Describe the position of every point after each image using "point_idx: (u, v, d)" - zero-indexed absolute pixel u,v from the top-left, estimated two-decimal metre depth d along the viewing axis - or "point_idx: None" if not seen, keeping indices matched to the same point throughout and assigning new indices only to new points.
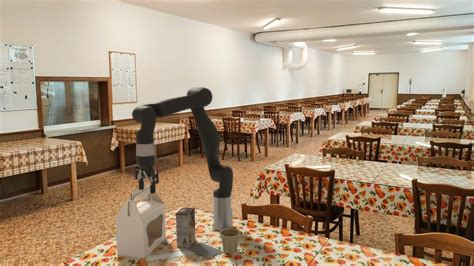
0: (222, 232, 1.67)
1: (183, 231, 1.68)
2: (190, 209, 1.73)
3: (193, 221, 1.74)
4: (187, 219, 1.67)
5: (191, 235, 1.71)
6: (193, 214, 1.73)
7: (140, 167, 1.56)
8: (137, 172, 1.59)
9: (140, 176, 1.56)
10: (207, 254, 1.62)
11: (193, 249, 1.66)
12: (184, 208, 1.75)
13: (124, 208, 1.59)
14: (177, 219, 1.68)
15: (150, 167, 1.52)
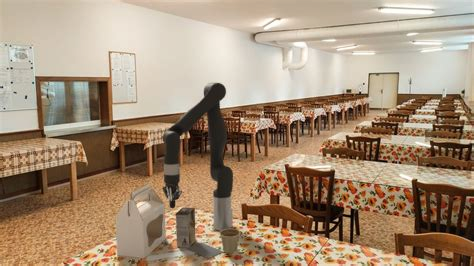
0: (222, 232, 1.67)
1: (183, 231, 1.68)
2: (190, 209, 1.73)
3: (193, 221, 1.74)
4: (187, 219, 1.67)
5: (191, 235, 1.71)
6: (193, 214, 1.73)
7: (166, 183, 1.79)
8: (166, 191, 1.80)
9: (169, 193, 1.77)
10: (207, 254, 1.62)
11: (193, 249, 1.66)
12: (184, 208, 1.75)
13: (124, 208, 1.59)
14: (177, 219, 1.68)
15: (176, 184, 1.74)
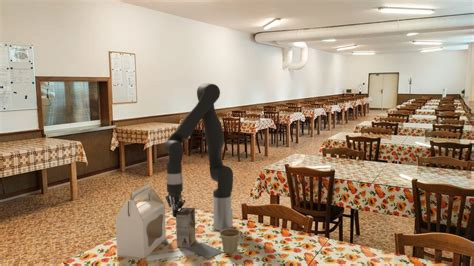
0: (222, 232, 1.67)
1: (183, 231, 1.68)
2: (190, 209, 1.73)
3: (193, 221, 1.74)
4: (187, 219, 1.67)
5: (191, 235, 1.71)
6: (193, 214, 1.73)
7: (169, 192, 1.78)
8: (169, 200, 1.79)
9: (172, 202, 1.76)
10: (207, 254, 1.62)
11: (193, 249, 1.66)
12: (184, 208, 1.75)
13: (124, 208, 1.59)
14: (177, 219, 1.68)
15: (179, 194, 1.74)
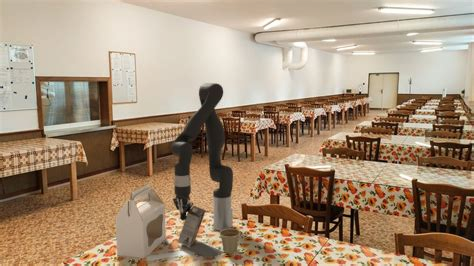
0: (222, 232, 1.67)
1: (189, 231, 1.68)
2: (201, 211, 1.72)
3: (200, 223, 1.73)
4: (197, 221, 1.66)
5: (194, 236, 1.70)
6: (202, 216, 1.73)
7: (176, 195, 1.74)
8: (177, 203, 1.75)
9: (180, 205, 1.72)
10: (207, 254, 1.62)
11: (193, 249, 1.66)
12: (195, 207, 1.73)
13: (124, 208, 1.59)
14: (187, 217, 1.67)
15: (187, 196, 1.69)
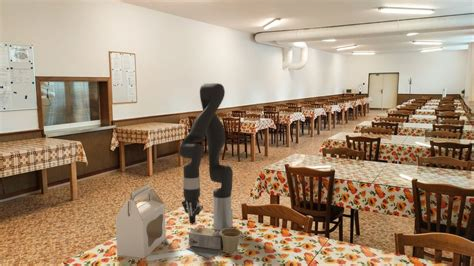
0: (223, 231, 1.66)
1: (203, 242, 1.67)
2: None
3: None
4: (216, 248, 1.65)
5: None
6: None
7: (185, 198, 1.69)
8: (185, 206, 1.70)
9: (189, 208, 1.68)
10: (207, 254, 1.62)
11: (193, 249, 1.66)
12: None
13: (124, 208, 1.59)
14: (216, 237, 1.65)
15: (196, 199, 1.65)
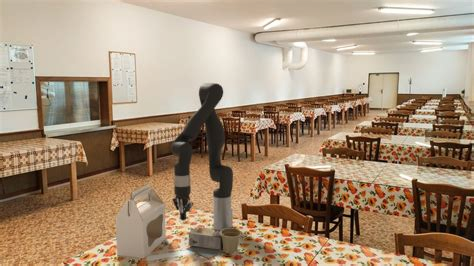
0: (223, 231, 1.66)
1: (203, 242, 1.67)
2: None
3: None
4: (216, 248, 1.65)
5: None
6: None
7: (176, 195, 1.73)
8: (176, 203, 1.75)
9: (180, 205, 1.72)
10: (207, 254, 1.62)
11: (193, 249, 1.66)
12: None
13: (124, 208, 1.59)
14: (216, 237, 1.65)
15: (187, 196, 1.70)
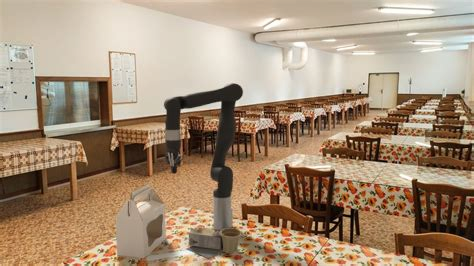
0: (223, 231, 1.66)
1: (203, 242, 1.67)
2: None
3: None
4: (216, 248, 1.65)
5: None
6: None
7: (167, 150, 1.82)
8: (168, 158, 1.83)
9: (170, 159, 1.81)
10: (207, 254, 1.62)
11: (193, 249, 1.66)
12: None
13: (124, 208, 1.59)
14: (216, 237, 1.65)
15: (177, 150, 1.78)
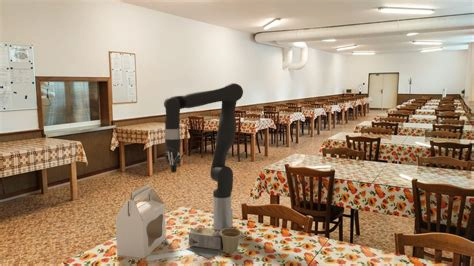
0: (223, 231, 1.66)
1: (203, 242, 1.67)
2: None
3: None
4: (216, 248, 1.65)
5: None
6: None
7: (167, 149, 1.84)
8: (167, 157, 1.85)
9: (170, 158, 1.82)
10: (207, 254, 1.62)
11: (193, 249, 1.66)
12: None
13: (124, 208, 1.59)
14: (216, 237, 1.65)
15: (177, 149, 1.79)
